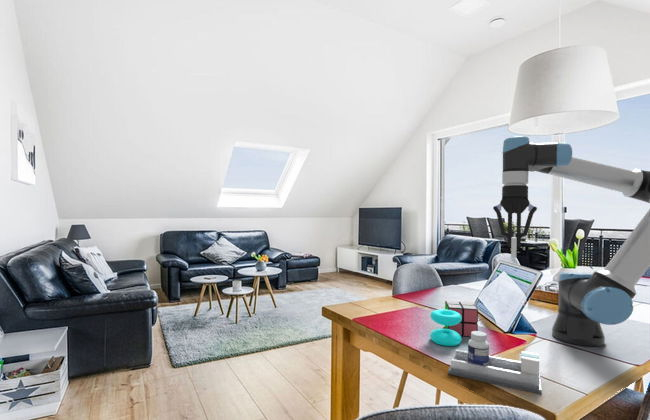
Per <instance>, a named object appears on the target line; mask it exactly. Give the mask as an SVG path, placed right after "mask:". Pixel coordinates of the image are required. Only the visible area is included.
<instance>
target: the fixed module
mask: <svg viewBox="0 0 650 420" xmlns="http://www.w3.org/2000/svg"><path fill="white" fill-rule="evenodd" d="M520 352H521V353H520V361H521V372H522V373H527V374H532V375H537V376H539V372H540V355H539V353H537V352H531V351H525V350H521V351H520Z"/></svg>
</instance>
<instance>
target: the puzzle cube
mask: <svg viewBox="0 0 650 420" xmlns="http://www.w3.org/2000/svg"><path fill="white" fill-rule="evenodd" d="M444 304H445V305H444V309H447V310H452V311H456V312H458V313H459V314H460V315H461V317H462V320H461V322H460V323H459V324H457V325H452V326H447V325H444V327H445V328H444V329H450V330H453V331H456V332H457V333H458V334H459V335H460V336H461V337H470V338H471V332H472V331H479V324H478V323H479V310H478V308H477V307H476V306H475V304H474V303H473V302H472V301H457V300H456V301H455V300H445V302H444Z"/></svg>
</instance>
